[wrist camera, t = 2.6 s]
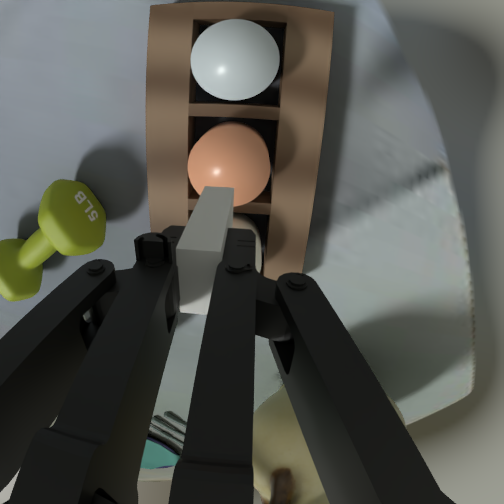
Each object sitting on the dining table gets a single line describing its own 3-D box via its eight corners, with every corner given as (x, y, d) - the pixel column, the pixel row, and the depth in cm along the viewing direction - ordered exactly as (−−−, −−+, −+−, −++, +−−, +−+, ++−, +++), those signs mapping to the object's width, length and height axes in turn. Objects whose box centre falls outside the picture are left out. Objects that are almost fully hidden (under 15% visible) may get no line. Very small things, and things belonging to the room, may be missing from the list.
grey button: (202, 27, 21) (193, 19, 17) (278, 30, 21) (282, 22, 17) (198, 96, 24) (188, 99, 20) (273, 99, 24) (275, 103, 20)
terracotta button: (197, 120, 25) (187, 126, 21) (271, 123, 25) (273, 130, 21) (196, 187, 28) (187, 204, 24) (265, 191, 28) (266, 209, 24)
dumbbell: (80, 162, 28) (41, 187, 22) (124, 224, 31) (96, 261, 25) (6, 236, 32) (-27, 266, 26) (42, 282, 36) (15, 317, 29)
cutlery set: (77, 429, 57) (75, 437, 55) (161, 401, 48) (159, 412, 46) (142, 465, 65) (140, 472, 63) (235, 445, 56) (235, 455, 54)
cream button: (196, 208, 29) (188, 228, 25) (263, 212, 29) (264, 232, 25) (197, 265, 32) (190, 289, 28) (258, 269, 32) (258, 294, 28)
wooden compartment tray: (160, 12, 21) (150, 5, 18) (326, 18, 21) (334, 12, 19) (163, 270, 34) (156, 287, 31) (294, 279, 34) (297, 296, 32)
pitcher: (401, 397, 46) (435, 528, 25) (279, 439, 53) (280, 561, 31) (363, 316, 37) (420, 515, 16) (205, 379, 44) (182, 546, 22)
